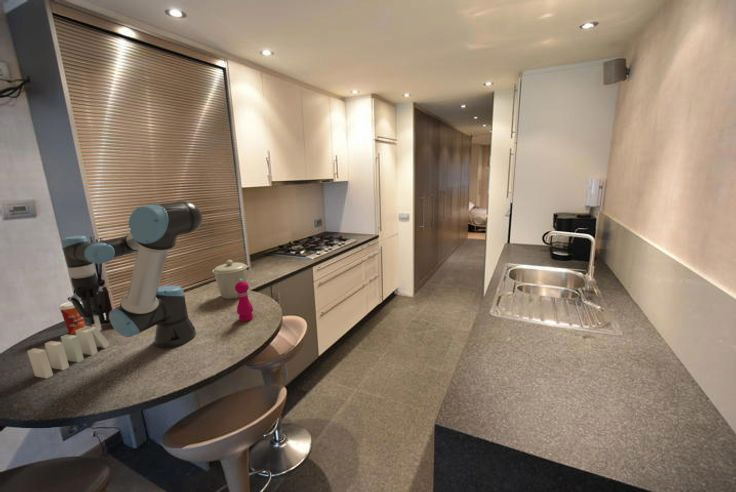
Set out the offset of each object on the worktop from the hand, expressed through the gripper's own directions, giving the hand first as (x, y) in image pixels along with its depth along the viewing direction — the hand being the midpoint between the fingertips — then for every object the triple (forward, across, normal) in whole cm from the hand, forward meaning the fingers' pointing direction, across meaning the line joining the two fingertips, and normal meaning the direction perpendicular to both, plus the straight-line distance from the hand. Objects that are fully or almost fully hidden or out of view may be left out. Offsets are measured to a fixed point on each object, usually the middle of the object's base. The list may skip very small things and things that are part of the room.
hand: (97, 330), depth 132 cm
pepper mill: (+8, -36, +44) cm, 57 cm away
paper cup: (+8, -7, -26) cm, 28 cm away
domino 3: (+8, +10, 0) cm, 12 cm away
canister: (+8, -60, +18) cm, 63 cm away
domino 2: (+8, +15, 0) cm, 17 cm away
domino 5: (+7, 0, 0) cm, 7 cm away
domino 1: (+8, +20, 0) cm, 21 cm away
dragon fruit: (+8, -19, -16) cm, 26 cm away
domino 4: (+8, +5, 0) cm, 9 cm away
